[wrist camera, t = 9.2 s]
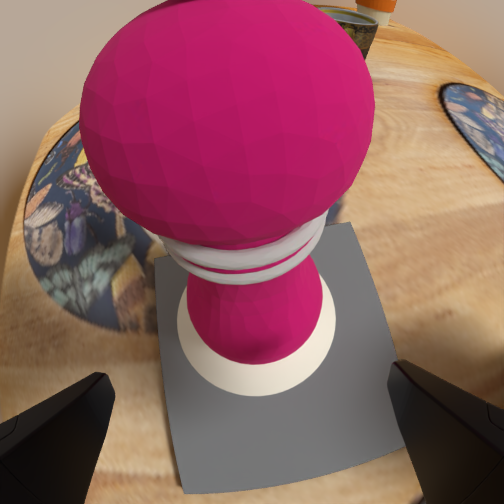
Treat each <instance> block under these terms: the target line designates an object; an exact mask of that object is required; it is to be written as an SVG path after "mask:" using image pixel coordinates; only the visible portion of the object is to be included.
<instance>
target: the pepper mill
mask: <svg viewBox="0 0 504 504" xmlns="http://www.w3.org/2000/svg"><path fill="white" fill-rule="evenodd" d="M374 110H375V101H374V92H373V84H372V79H371V76H370V74H369V71H368V68H367V65H366V63H365V60H364V58H363V55H362V53H361V50H360V49H359V48H358V46H357V45H356V44H355V43H354V41H353V40H352V39H351V37H350V36H349V35H348V34H347V33H346V31H345V30H344V29H343V28H342V27H341V26H340V25H339V24H338V23H337V22H336V21H335V20H334V19H333V18H331V17H330V16H328V15H327V14H325V13H324V12H322V11H321V10H319V9H318V8H316V7H315V6H313V5H311V4H309V3H307V2H305V1H302V0H167V1H165V2H163V3H161V4H159V5H157V6H155V7H153V8H151V9H149V10H147V11H145V12H143V13H141V14H140V15H138V16H137V17H136V18H134V19H133V20H132V21H130V22H129V23H128V24H126V25H125V26H124V27H123V28H121V29H120V30H119V31H118V32H117V33H116V34H115V35H114V36H113V37H112V38H111V39H110V40H109V41H108V43H107V44H106V45H105V46H104V48H103V49H102V51H101V52H100V53H99V55H98V56H97V57H96V60H95V61H94V64H93V66H92V68H91V70H90V72H89V74H88V76H87V78H86V81H85V83H84V87H83V92H82V98H81V103H80V117H79V129H80V134H81V139H82V144H83V147H84V151H85V154H86V157H87V160H88V163H89V166H90V169H91V170H92V172H93V174H94V176H95V178H96V180H97V182H98V184H99V185H100V187H101V189H102V191H103V192H104V193H105V194H106V196H107V197H108V198H109V199H110V200H111V201H112V203H113V204H114V205H115V206H116V207H117V208H118V209H119V210H120V212H121V213H122V214H123V215H125V216H126V217H128V218H129V219H131V220H133V221H134V222H136V223H137V224H139V225H141V226H142V227H144V228H145V229H147V230H149V231H150V232H152V233H154V234H157V235H158V236H159V238H160V239H161V240H162V242H163V243H164V246H165V248H166V249H167V251H168V252H169V254H170V255H171V257H172V258H173V259H174V260H175V261H176V262H177V263H178V264H179V265H180V266H182V267H183V268H184V269H186V270H187V271H189V276H188V281H187V309H188V313H189V316H190V320H191V322H192V324H193V326H194V328H195V330H196V331H197V333H198V335H199V336H200V337H201V339H202V340H203V341H204V343H205V344H206V345H207V346H208V347H209V348H210V349H211V350H213V351H214V352H216V353H217V354H219V355H220V356H222V357H224V358H226V359H228V360H230V361H234V362H237V363H241V364H249V365H261V364H267V363H272V362H276V361H278V360H281V359H283V358H286V357H287V356H289V355H291V354H292V353H294V352H295V351H297V350H298V349H299V348H300V347H301V346H302V345H303V344H304V343H305V342H306V341H307V340H308V339H309V337H310V336H311V334H312V333H313V331H314V329H315V327H316V325H317V322H318V319H319V316H320V313H321V309H322V301H323V291H322V284H321V280H320V276H319V273H318V270H317V268H316V266H315V263H314V261H313V259H312V258H311V256H310V255H309V254H310V253H311V251H312V250H313V249H314V247H315V246H316V244H317V243H318V241H319V239H320V237H321V234H322V232H323V229H324V225H325V219H326V215H327V213H328V210H329V208H330V207H331V206H332V205H333V204H334V203H335V202H336V201H337V200H338V199H339V198H340V197H341V196H342V195H343V194H344V193H345V192H346V191H347V190H348V189H349V188H350V187H351V185H352V183H353V181H354V179H355V177H356V175H357V173H358V171H359V169H360V167H361V165H362V163H363V161H364V158H365V156H366V153H367V150H368V148H369V145H370V142H371V136H372V128H373V120H374Z"/></svg>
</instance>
